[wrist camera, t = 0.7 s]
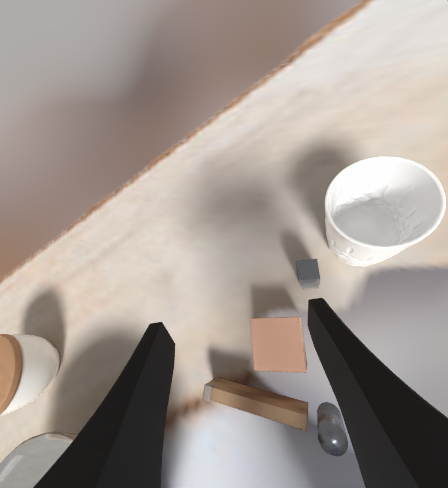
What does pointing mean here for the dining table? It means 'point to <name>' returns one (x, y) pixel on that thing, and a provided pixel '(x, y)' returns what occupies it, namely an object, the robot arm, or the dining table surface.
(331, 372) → the robot arm
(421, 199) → the white cup
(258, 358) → the block
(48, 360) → the lidded jar
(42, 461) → the ceramic bowl
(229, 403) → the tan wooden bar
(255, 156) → the dining table surface
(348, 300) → the dining table surface
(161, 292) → the dining table surface
